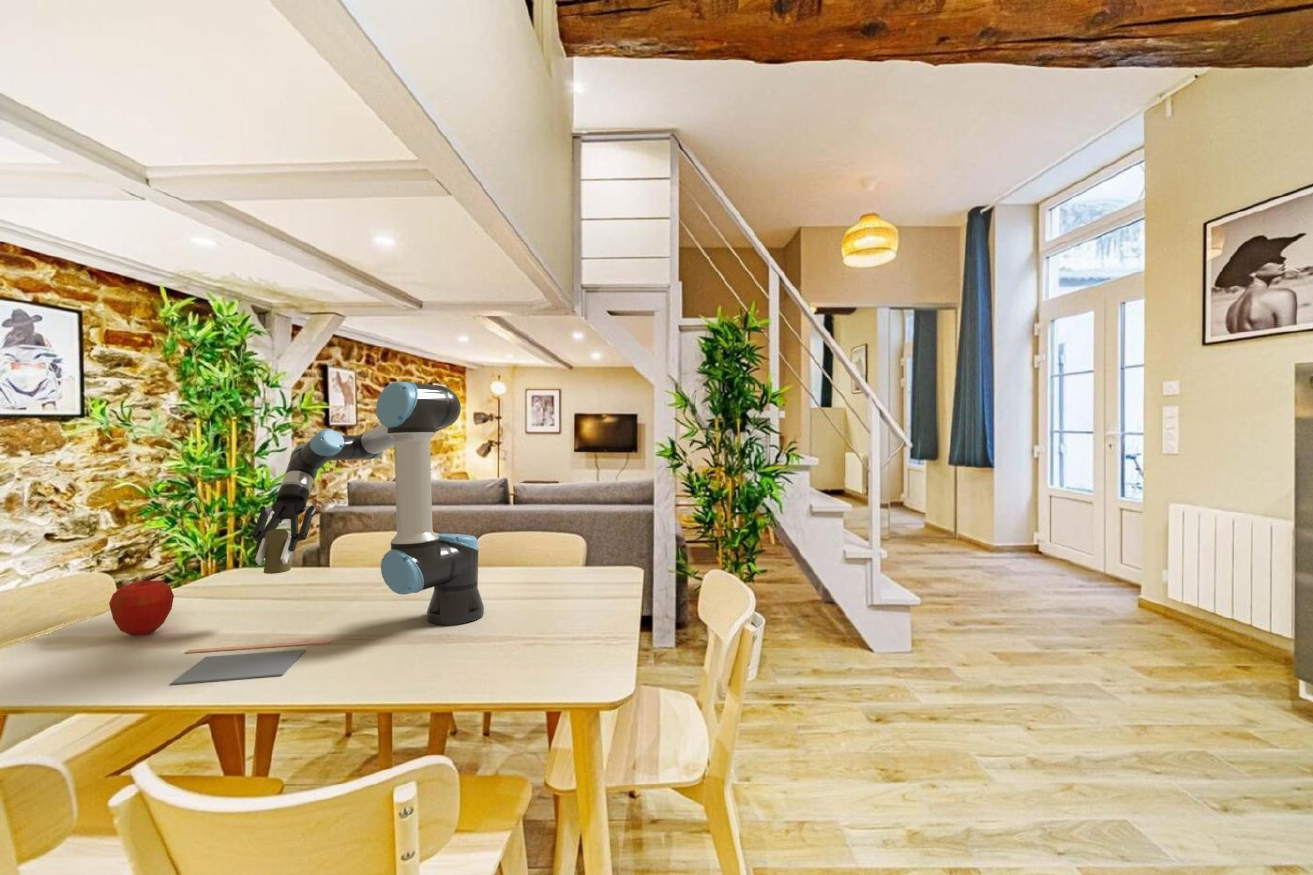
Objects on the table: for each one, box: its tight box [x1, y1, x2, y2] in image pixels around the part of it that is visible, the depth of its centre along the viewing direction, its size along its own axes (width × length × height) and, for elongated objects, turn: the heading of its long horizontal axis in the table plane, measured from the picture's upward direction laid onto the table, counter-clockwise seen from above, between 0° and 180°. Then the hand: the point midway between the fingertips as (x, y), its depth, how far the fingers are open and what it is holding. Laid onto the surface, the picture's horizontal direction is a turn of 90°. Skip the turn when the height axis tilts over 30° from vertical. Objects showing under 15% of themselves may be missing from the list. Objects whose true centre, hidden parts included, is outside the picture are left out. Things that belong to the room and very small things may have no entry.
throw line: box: [184, 639, 332, 654], centre depth 137 cm, size 30×2×1 cm, turn 105°
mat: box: [170, 649, 306, 686], centre depth 125 cm, size 20×14×1 cm
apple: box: [108, 578, 175, 637], centre depth 144 cm, size 12×12×14 cm
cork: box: [263, 528, 291, 575], centre depth 152 cm, size 6×6×11 cm
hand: (271, 561), depth 148 cm, fingers closed on cork, 5 cm apart
